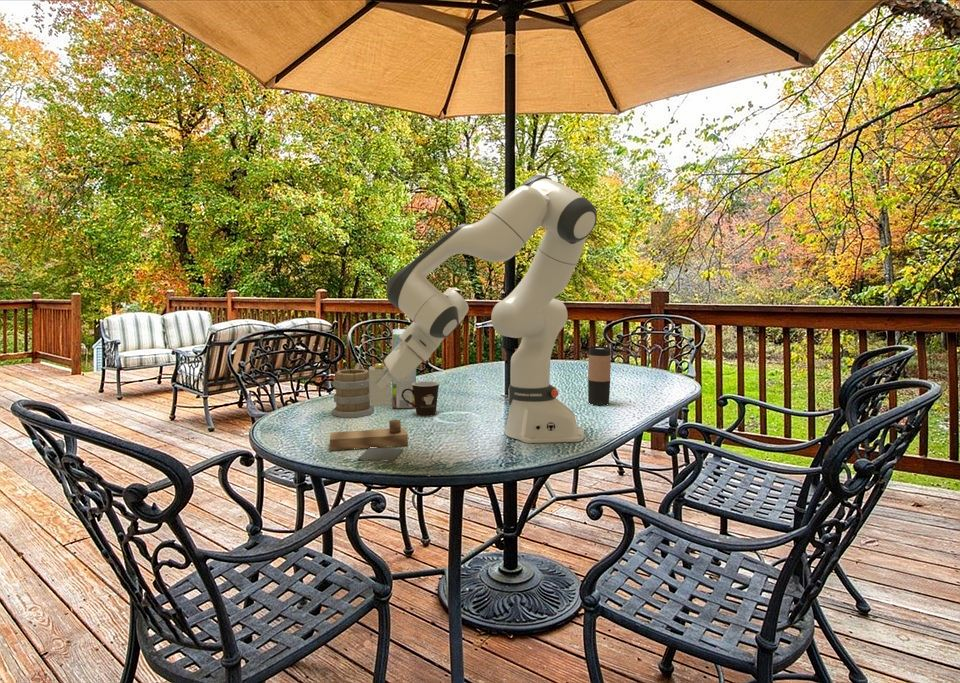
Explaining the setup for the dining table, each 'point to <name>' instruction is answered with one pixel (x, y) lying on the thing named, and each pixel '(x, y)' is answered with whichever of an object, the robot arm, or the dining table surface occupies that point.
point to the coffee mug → (424, 397)
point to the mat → (381, 454)
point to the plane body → (370, 437)
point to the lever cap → (376, 394)
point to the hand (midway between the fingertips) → (377, 384)
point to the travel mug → (599, 375)
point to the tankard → (352, 393)
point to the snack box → (403, 384)
